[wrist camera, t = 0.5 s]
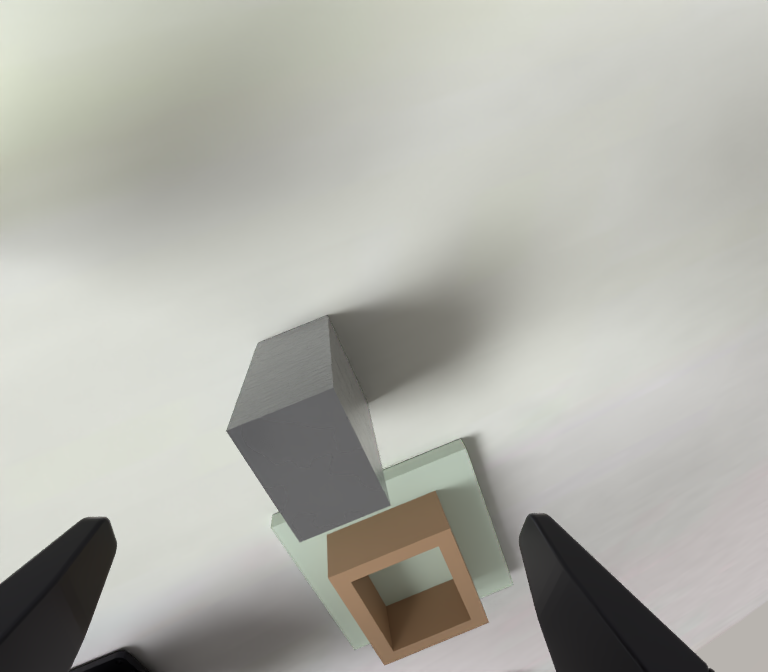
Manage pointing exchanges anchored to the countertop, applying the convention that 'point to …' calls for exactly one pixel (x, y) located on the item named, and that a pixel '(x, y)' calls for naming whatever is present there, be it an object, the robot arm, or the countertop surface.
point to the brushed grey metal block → (309, 431)
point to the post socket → (408, 559)
